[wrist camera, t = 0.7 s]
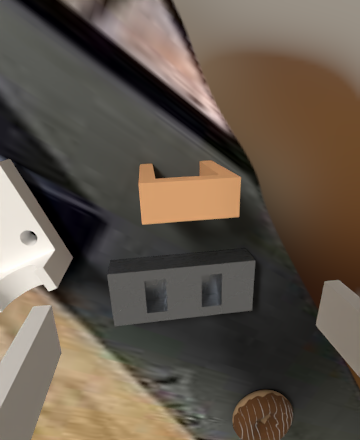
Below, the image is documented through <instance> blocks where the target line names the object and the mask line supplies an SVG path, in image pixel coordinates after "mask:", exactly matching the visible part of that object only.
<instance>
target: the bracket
mask: <svg viewBox="0 0 360 440" xmlns="http://www.w3.org/2000/svg"><path fill="white" fill-rule="evenodd" d="M30 231H32V232H34V233H35V234H36V236H34V235H33V234H32V233H31V232H30ZM72 259H73V257H72V255H71V254H70V252H69V251H68V249H67V247H66V246H65V244H64V243H63V241H62V240H61V238H60V236H59V235H58V233H57V232H56V230H55V229H54V227H53V225H52V224H51V222H50V221H49V219H48V218H47V216H46V214H45V213H44V211H43V210H42V208H41V207H40V205H39V203H38V202H37V200H36V199H35V197H34V196H33V194H32V192H31V191H30V189H29V188H28V186H27V185H26V183H25V181H24V180H23V178H22V177H21V175H20V174H19V172H18V170H17V169H16V167H15V166H14V164H13V163H12V161H11V159H8V160H5V161H1V162H0V312H2V311H3V310H4V309H5V307H6V306H7V305H8V304H10V303H11V302H12V301H13V300H14V299H16V298H17V297H18V296H20V295H21V294H23V293H25V292H26V291H28V290H30V289H32V288H34V287H36V286H39V285H43V284H44V286H45V287H46V289H47V290H48V291H52V290H54V289H56V288H58V286H59V284H60V282H61V280H62V278H63V276H64V274H65V272H66V270H67V268H68V266H69V264H70V262H71V260H72Z"/></svg>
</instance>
